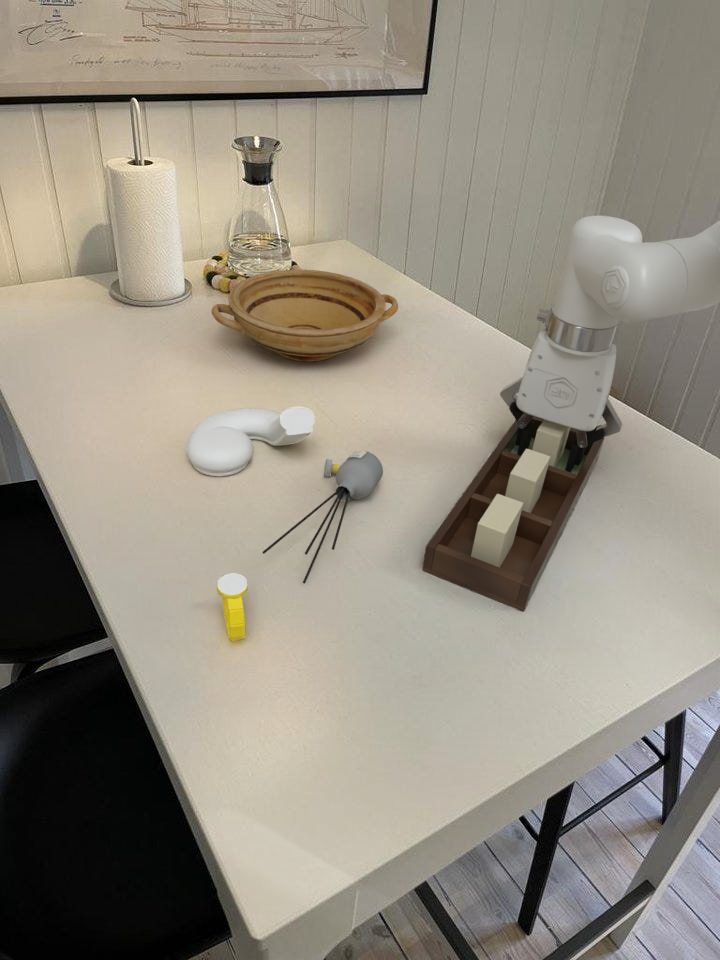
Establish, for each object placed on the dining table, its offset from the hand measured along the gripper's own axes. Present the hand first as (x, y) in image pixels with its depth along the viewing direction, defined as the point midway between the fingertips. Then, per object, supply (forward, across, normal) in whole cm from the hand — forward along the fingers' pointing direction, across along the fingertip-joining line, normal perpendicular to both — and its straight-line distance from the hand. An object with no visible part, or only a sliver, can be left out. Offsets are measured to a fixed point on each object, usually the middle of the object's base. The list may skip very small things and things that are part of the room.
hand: (546, 457), depth 97 cm
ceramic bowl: (+2, -43, +12) cm, 45 cm away
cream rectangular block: (+1, 0, 0) cm, 1 cm away
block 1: (+1, 0, -21) cm, 21 cm away
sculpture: (+2, -34, -18) cm, 39 cm away
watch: (+2, -18, -43) cm, 47 cm away
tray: (+1, 0, -10) cm, 10 cm away
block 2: (+1, 0, -10) cm, 10 cm away
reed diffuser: (+2, -18, -25) cm, 31 cm away
